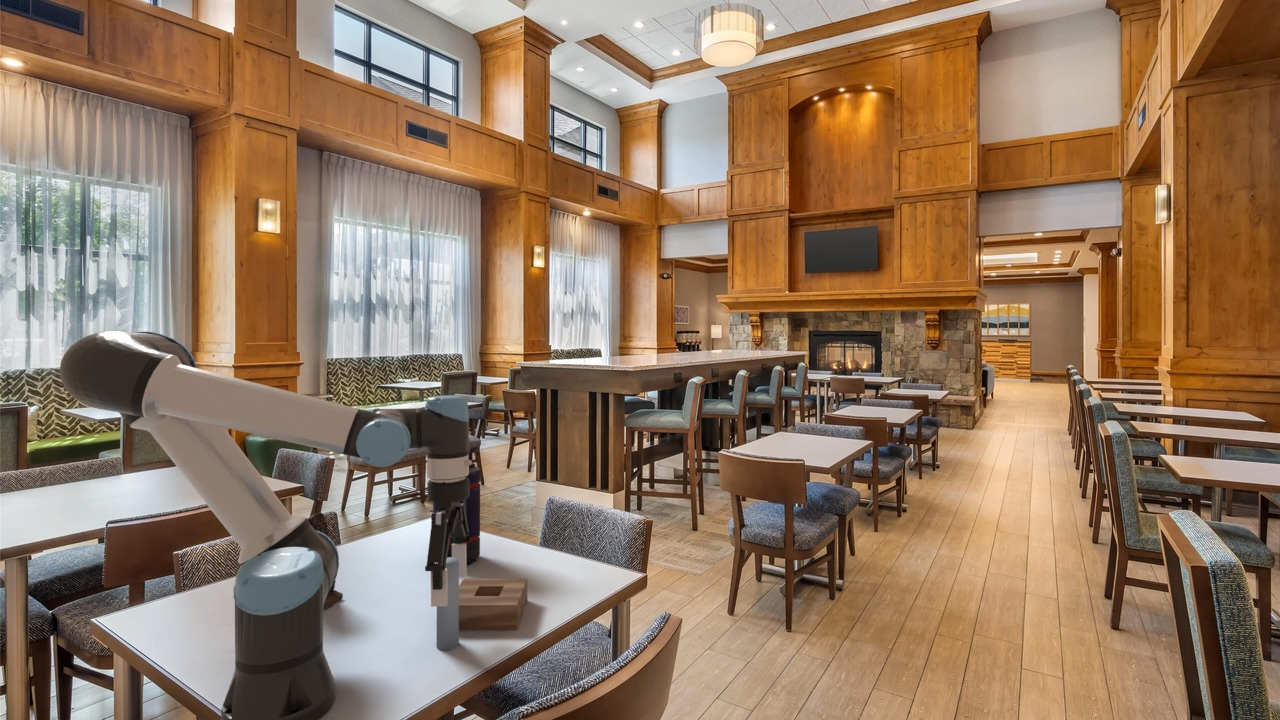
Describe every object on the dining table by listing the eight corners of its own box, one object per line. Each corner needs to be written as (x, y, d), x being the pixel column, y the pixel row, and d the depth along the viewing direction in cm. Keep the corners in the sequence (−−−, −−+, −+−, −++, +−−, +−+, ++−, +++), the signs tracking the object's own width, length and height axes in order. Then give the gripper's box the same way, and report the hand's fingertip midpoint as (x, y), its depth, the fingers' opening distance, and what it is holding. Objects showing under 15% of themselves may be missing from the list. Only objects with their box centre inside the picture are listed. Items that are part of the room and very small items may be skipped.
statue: (321, 612, 128) (321, 518, 127) (292, 609, 129) (292, 515, 129) (344, 599, 134) (343, 509, 134) (316, 596, 136) (315, 507, 136)
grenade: (432, 555, 163) (432, 444, 162) (477, 550, 167) (478, 442, 167) (433, 573, 150) (434, 453, 150) (483, 567, 154) (483, 450, 154)
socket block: (516, 629, 121) (517, 604, 121) (445, 630, 120) (446, 605, 120) (527, 600, 135) (527, 578, 134) (463, 600, 134) (463, 578, 134)
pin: (455, 650, 112) (455, 564, 112) (433, 650, 112) (434, 564, 112) (461, 639, 116) (461, 557, 116) (440, 640, 116) (440, 557, 116)
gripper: (450, 494, 101) (452, 619, 102) (483, 464, 126) (484, 565, 127) (405, 494, 101) (407, 620, 101) (446, 465, 126) (448, 566, 126)
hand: (450, 590), depth 114 cm, fingers open, 13 cm apart
